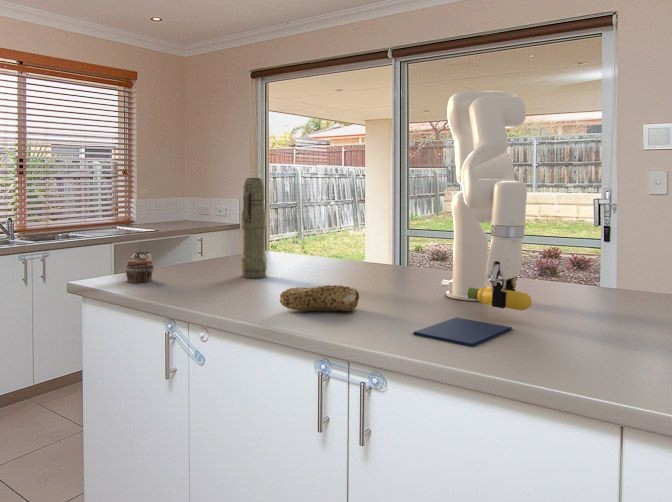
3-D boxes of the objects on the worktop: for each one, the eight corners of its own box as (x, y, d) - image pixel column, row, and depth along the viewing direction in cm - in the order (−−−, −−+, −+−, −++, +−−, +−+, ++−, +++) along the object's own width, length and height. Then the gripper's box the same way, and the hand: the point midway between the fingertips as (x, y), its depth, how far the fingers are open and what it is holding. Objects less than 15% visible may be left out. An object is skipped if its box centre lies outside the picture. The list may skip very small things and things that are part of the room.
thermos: (235, 278, 210) (235, 177, 205) (248, 273, 221) (248, 177, 216) (259, 279, 206) (259, 177, 202) (271, 274, 217) (271, 178, 213)
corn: (465, 302, 152) (466, 285, 152) (473, 299, 156) (474, 283, 155) (526, 313, 142) (527, 295, 141) (533, 310, 145) (535, 292, 144)
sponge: (356, 311, 164) (287, 292, 168) (362, 285, 161) (292, 267, 165) (348, 331, 152) (274, 310, 156) (354, 303, 149) (279, 283, 153)
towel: (413, 334, 135) (413, 331, 135) (456, 319, 149) (456, 317, 149) (472, 346, 125) (472, 343, 125) (511, 329, 139) (511, 327, 139)
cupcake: (131, 278, 209) (130, 249, 208) (157, 278, 208) (157, 250, 207) (120, 283, 200) (119, 253, 199) (148, 283, 199) (147, 253, 197)
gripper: (506, 228, 154) (502, 297, 156) (477, 234, 142) (473, 308, 144) (536, 230, 148) (531, 302, 151) (508, 236, 137) (503, 314, 139)
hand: (503, 304), depth 148 cm, fingers closed on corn, 4 cm apart
